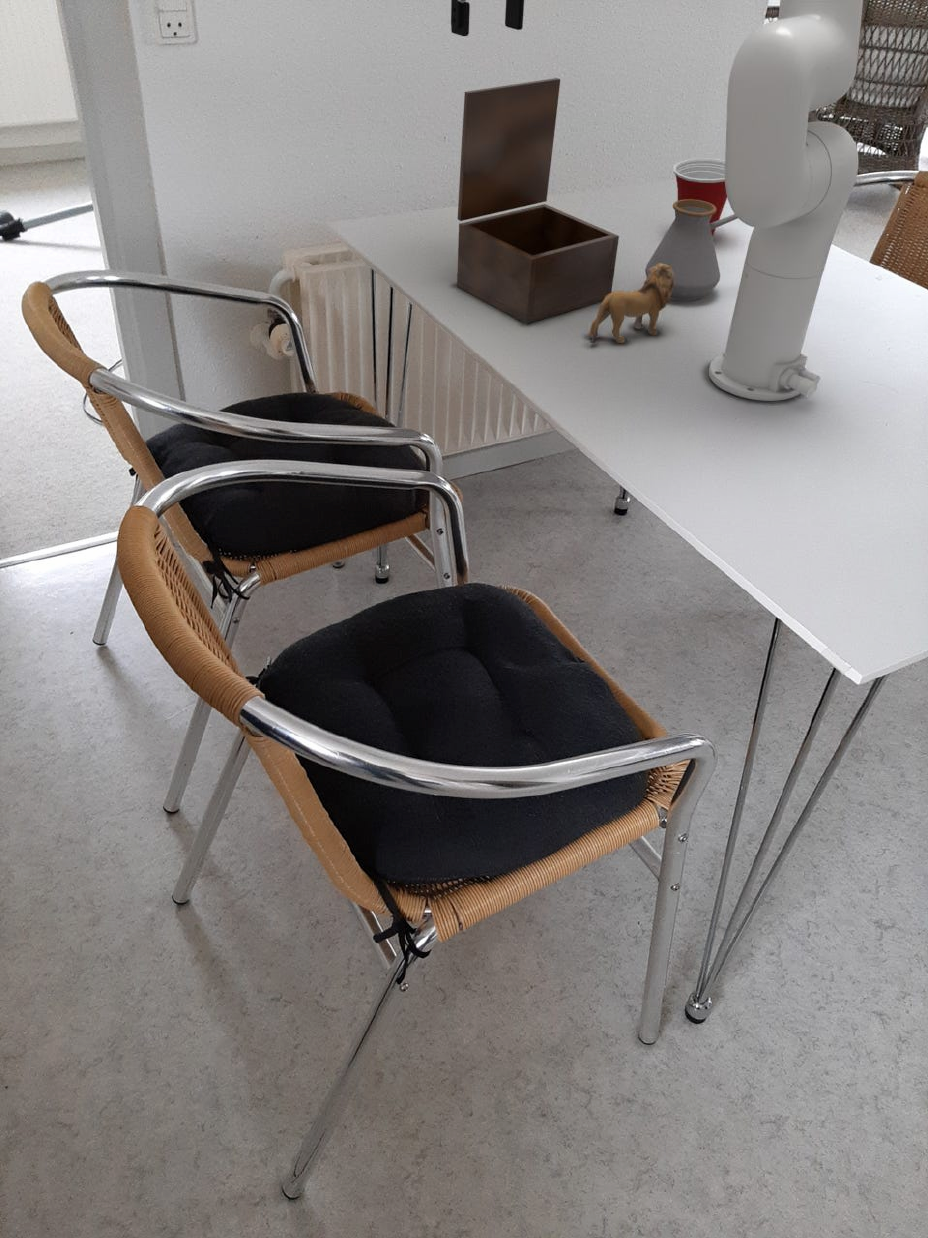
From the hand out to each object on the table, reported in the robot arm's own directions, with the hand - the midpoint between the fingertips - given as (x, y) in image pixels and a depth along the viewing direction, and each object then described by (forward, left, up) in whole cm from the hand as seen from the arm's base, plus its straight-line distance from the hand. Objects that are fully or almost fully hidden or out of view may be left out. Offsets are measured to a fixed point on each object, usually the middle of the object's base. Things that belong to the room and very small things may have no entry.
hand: (487, 30), depth 141 cm
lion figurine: (-33, -2, -33) cm, 46 cm away
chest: (-14, 0, -33) cm, 36 cm away
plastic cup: (-12, -39, -33) cm, 52 cm away
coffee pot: (-29, -24, -33) cm, 50 cm away
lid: (-7, 0, -14) cm, 16 cm away
